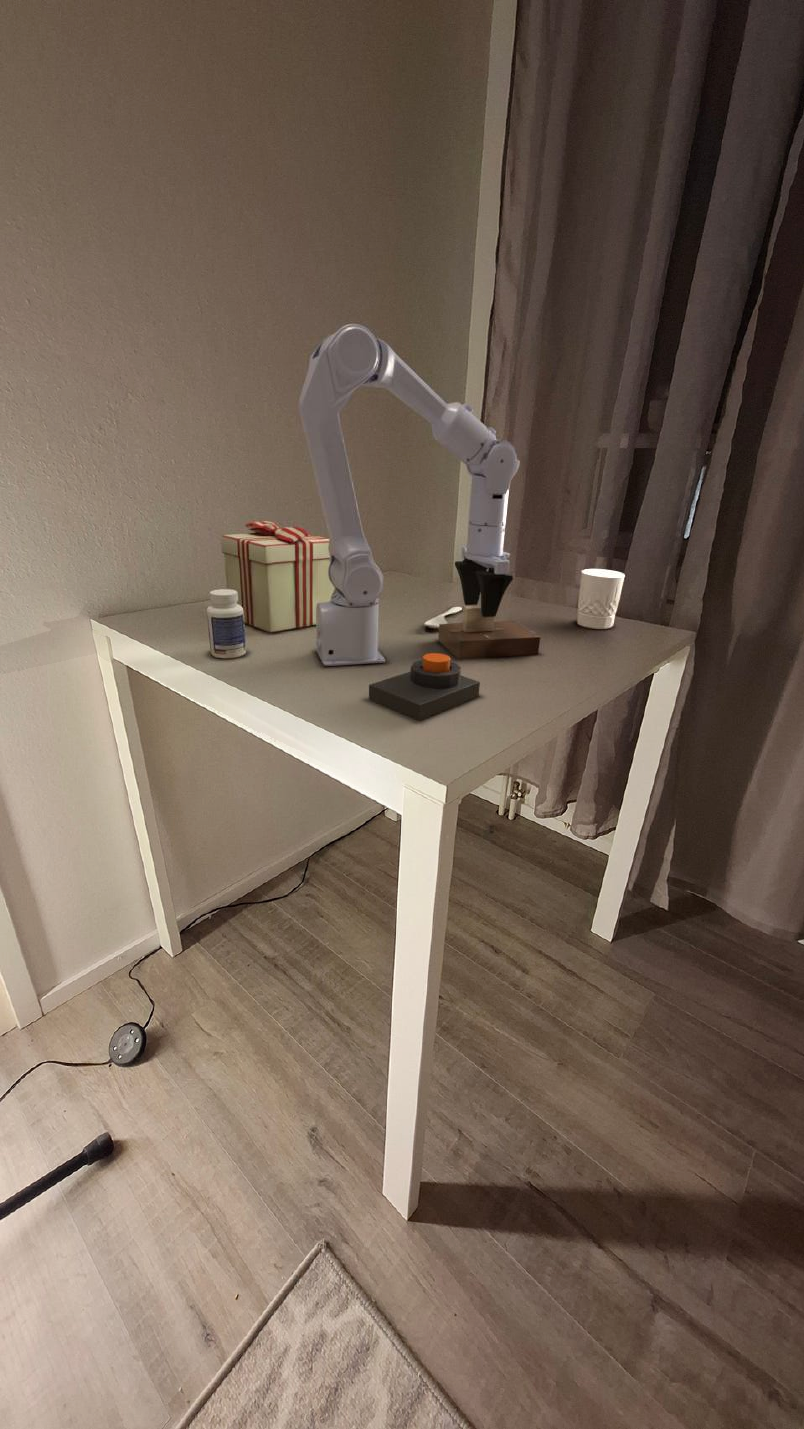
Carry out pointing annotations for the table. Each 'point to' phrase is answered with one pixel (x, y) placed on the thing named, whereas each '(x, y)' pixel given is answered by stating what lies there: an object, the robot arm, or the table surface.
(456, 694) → the button base
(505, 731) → the table surface
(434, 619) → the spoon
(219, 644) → the pill bottle
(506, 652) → the dial panel
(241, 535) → the gift box
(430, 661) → the power button
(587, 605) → the white cup
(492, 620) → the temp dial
